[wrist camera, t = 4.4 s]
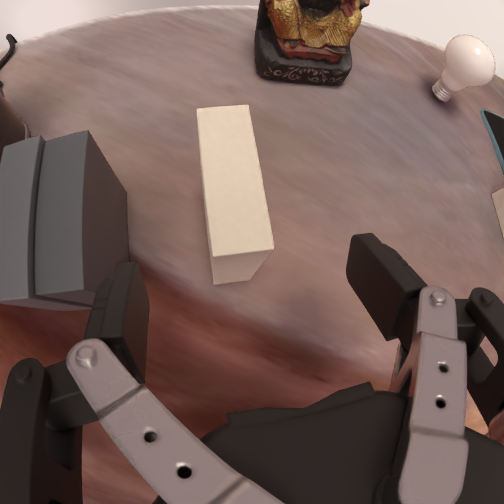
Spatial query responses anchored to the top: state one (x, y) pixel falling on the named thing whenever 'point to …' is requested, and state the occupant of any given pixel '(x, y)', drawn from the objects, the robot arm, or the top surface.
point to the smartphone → (495, 133)
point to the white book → (233, 193)
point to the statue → (306, 39)
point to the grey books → (59, 222)
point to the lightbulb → (464, 66)
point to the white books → (499, 207)
